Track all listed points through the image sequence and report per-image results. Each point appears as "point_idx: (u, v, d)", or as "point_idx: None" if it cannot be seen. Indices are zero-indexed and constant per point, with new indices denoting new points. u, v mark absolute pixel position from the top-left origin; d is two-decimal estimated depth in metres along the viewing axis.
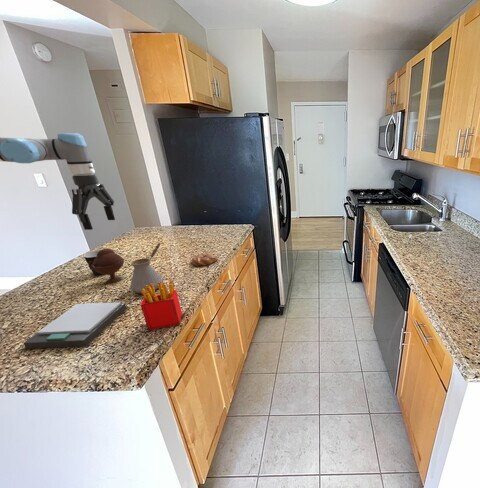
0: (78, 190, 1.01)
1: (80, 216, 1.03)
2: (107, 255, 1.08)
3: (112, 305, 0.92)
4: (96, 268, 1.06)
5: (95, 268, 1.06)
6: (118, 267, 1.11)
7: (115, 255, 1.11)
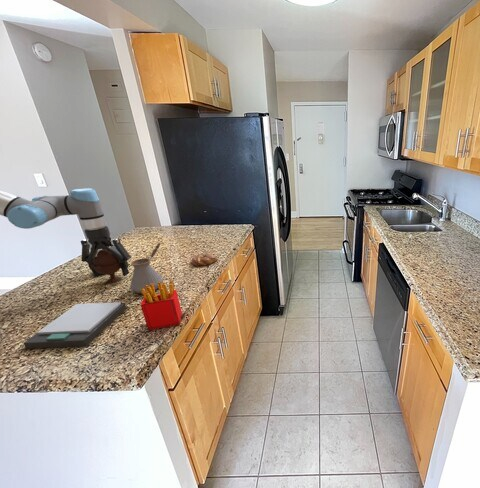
0: (118, 239, 1.09)
1: (126, 262, 1.12)
2: (107, 255, 1.08)
3: (112, 305, 0.92)
4: (96, 268, 1.06)
5: (95, 268, 1.06)
6: (118, 267, 1.11)
7: None
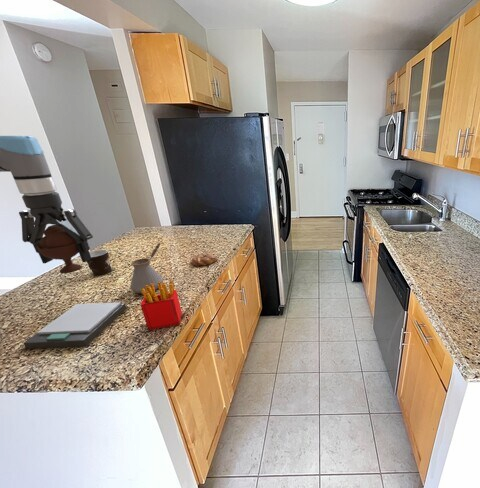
0: (74, 210, 0.79)
1: (85, 243, 0.82)
2: (58, 233, 0.78)
3: (112, 305, 0.92)
4: (41, 250, 0.76)
5: (40, 250, 0.76)
6: (75, 250, 0.81)
7: None
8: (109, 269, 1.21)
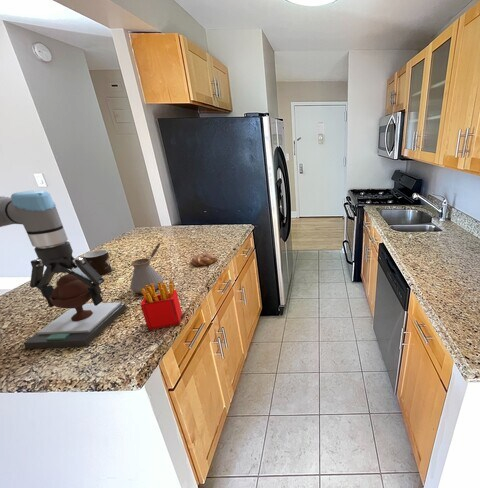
0: (84, 257, 0.80)
1: (97, 287, 0.83)
2: (70, 284, 0.80)
3: (112, 305, 0.92)
4: (54, 302, 0.79)
5: (53, 302, 0.79)
6: (86, 299, 0.83)
7: (82, 283, 0.83)
8: (109, 269, 1.21)
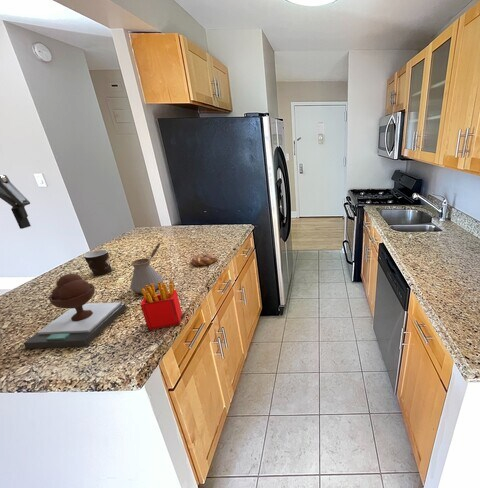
0: (6, 176, 0.79)
1: (22, 209, 0.82)
2: (70, 284, 0.80)
3: (112, 305, 0.92)
4: (54, 302, 0.79)
5: (53, 302, 0.79)
6: (86, 299, 0.83)
7: (82, 283, 0.83)
8: (109, 269, 1.21)
